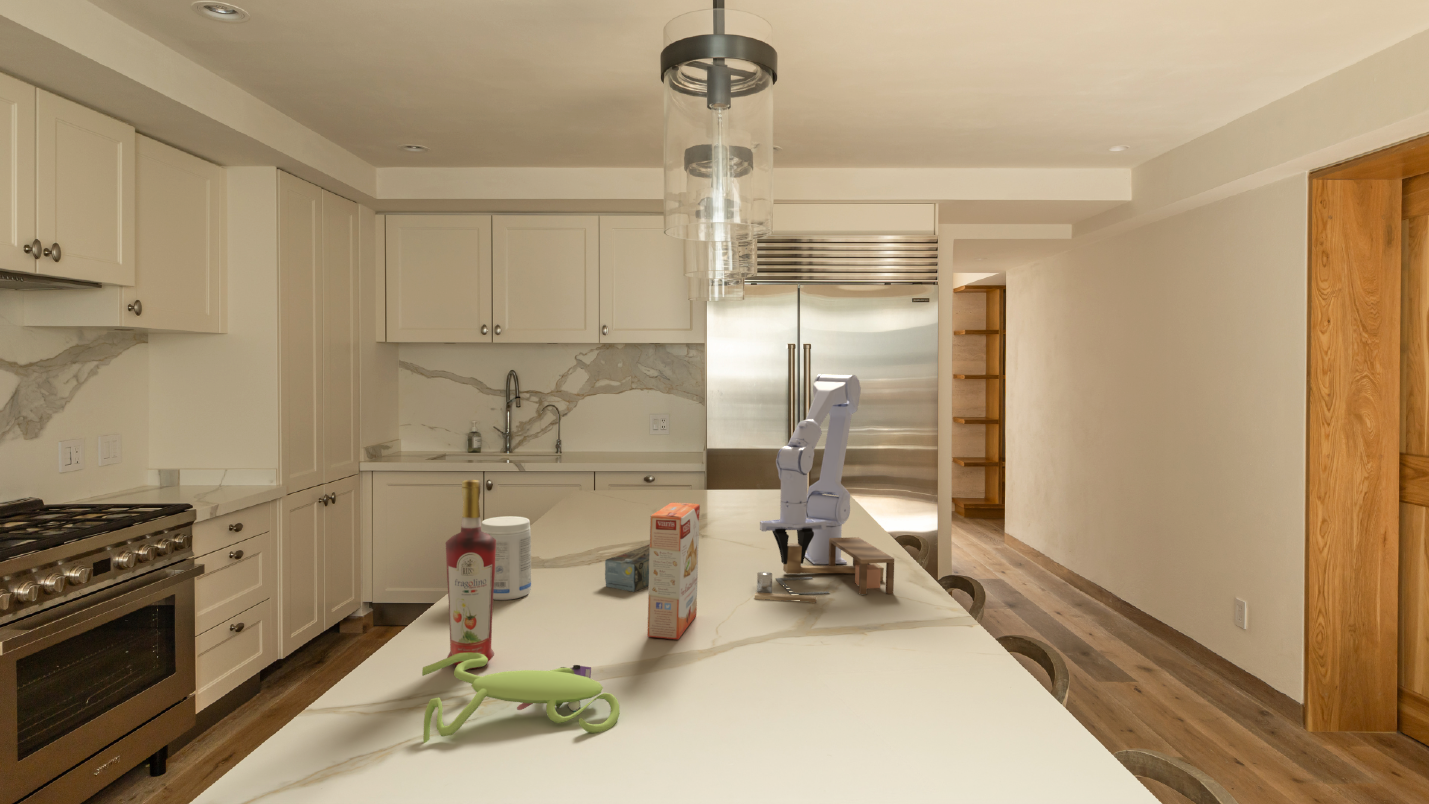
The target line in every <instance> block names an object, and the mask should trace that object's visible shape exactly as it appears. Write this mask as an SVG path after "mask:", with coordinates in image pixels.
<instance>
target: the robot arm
mask: <svg viewBox="0 0 1429 804" xmlns="http://www.w3.org/2000/svg"><path fill="white" fill-rule="evenodd" d="M812 386H813V387H812V391H813V400H812V402H811V405H810V407H809V410H808V413H807V416H806V417H805V419H804V420H800V421H799V422H798V423H797V426H796V427H795V430H794V432H792V436H791V437H790V439H789V441H788V443H787V444H786V445H785V446H783V447H781V448H780V449H779V450H778V451H777V456H776V459H775V466H776V468H777V472H778V478H779V480H780V505H779V506H780V508H779V509H780V510H779V511H780V512H779V513H780V514H779V518H778V519H770V520H760V521H759V530H760V531H761V532H768V531H772V534H773V536H774V539H775V541H776V544H777V546H778V550H779V553H780V554H779V555H780V558H781V559H780V560H781V563H782V564H783V565H784V564H787V546H788V543H789V537H790V536H789V534H788V532H787V531H796V535H797V543H798V544H799V545H801V546H802V553H801V565H802V564H804V561H805V558H806V559H807V560H808V561H809V562H810V563H812V564H813V565H815V566H818V565H828V564H829V538H842V534H843V533H842V531H843V530H842V529H843V528H842V527H843V525H844V524H845V523H846V521H848V519H849V517H850V513H851V502H850V501H851V493H850V492H849V490H848V489H847V488H846V487H845V486H844V485H843V484H842V483H841V482H842V477H843V472H844V466H845V465H844V464H845V458H846V453H847V452H846V451H847V448H848V447H847V446H848V441H849V433H850V428H851V422H852V416H853V414H855V413H857V412H858V408H859V404H860V397H861V389H862V387H861V385H860V380H859V378H858V376H857V375H856V374H850V375H849V374H824V373H819V374H817V376H816V377H815V379H814V381H813V384H812ZM828 415H829V421H828V427H827V433H826V439H825V445H824V452H823V456H822V457H823V458H822V461H821V467H820V468H821V469H820V473H819V475H820V476H819V480H817V481H816V482H814V483H812V484H811V485H809V487H808V474H809V473H810V471H811V470H812V469H813V468H812V467H813V463H814V457H815V449H816V447H817V444H818V443H819V440H820V438H821V436H822V434H823V433H822V429H821V425H823V422H824V421H825V420H826V418H827V416H828ZM837 564H838V565H840V564H841V565H842V564H845V565H846V564H848V561H847V560H846V559H844V558H843V557H842V550H841V549H839V548H838V547H836V560H835V565H837Z"/></svg>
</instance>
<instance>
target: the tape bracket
mask: <svg viewBox="0 0 1429 804" xmlns="http://www.w3.org/2000/svg"><path fill="white" fill-rule="evenodd" d="M797 579H798V580H800V579H801V580H814V579H813V577H812V576H806V577H805V576H803V577H802V576H800V577H797V576H796V577H776V578H775V580H776V581H777V582H778V583H779V584H780V585H781V586H782V585H784V587H783V588H784V589H785V588H791V587H790V586H789V585H788V584H787V583H786V582H785V581H793V580H794V581H796V580H797ZM786 585H788V586H786ZM786 591H787V592H788V591H794V590H793V589H792V588H791V589H787V590H786ZM824 593H825V594H824ZM827 593H830V592H829V591H810V592H809V591H808V592H805V591H804V592H795V591H794V592H790V593H789V594H790V595H791V594H814V595H828V594H827Z"/></svg>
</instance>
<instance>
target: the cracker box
mask: <svg viewBox="0 0 1429 804" xmlns="http://www.w3.org/2000/svg"><path fill="white" fill-rule="evenodd" d="M700 507H701V505H700V504H699V503H690V502H670V503H668V504H667V505H665V506H663V507H662V508H661V509H659V510H658V511H655V512H654V513H652V514H651V515H650V520H649V524H650V525H649V544H650V553H649V586H648V596H647V599H648V600H647V601H648V602H647V604H648V605H647V637H648V638H655V639H656V638H657V639H666V640H667V639H668V640H677V641H678V640H679V639H680V638H681V637H682V635H683V634H684V633H685V631H686V629H687V628H688V627H689V626H690V625H691V623H692V622H693V620H694V619H695V618H696V617H697V612H698V611H697V609H698V607H697V606H698V605H697V604H698V603H697V602H698V601H697V600H698V578H699V577H698V575H699V574H698V573H699V541H700V540H699V539H700V536H699V535H700V511H701V508H700Z"/></svg>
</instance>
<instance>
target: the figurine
mask: <svg viewBox="0 0 1429 804" xmlns="http://www.w3.org/2000/svg"><path fill="white" fill-rule="evenodd" d="M459 661H464V662H462V663H460V664H458V665H457V667H456V666H455V668H454V671H453V675H454V677H455V678H456V679H457V680H460V681H463V682H465V683H468V684H470V686H471V687H472V689H473V690H474V691H475V692H476V694H475V695H474V697H473V698H472V699H471V701H470V702H469V703H468V704H467V705H466V706H465V707H464V708H463V709H462V710H461V712H460V713H459V714H458V715H457V717H456V718H454V720H453V721H452V722H451V723H450V724H448V725H445V724H444V722H443V703H442V699H441V698H440V697H434V698H431V699H429V701H428V703H427V705H426V708H425V712H424V719H423V738H422V739H423V743H424V744H426V743H427V742H428V741H429V740H430V736H431V735H430V734H431V733H430V732H431V722H432V717H433V713H434V712H435V709H436V708H437V714H436V715H437V716H436V730H437V731H438V734H439V735H440V737H447V736H448V737H449V736H452V735H453V734H455V732H457V731H458V730H460V729H461V727H462V726H463V725H464V724H465V723H466V722H467V720H468V719H469V718H470V717H471V715H473V714H474V712H475V711H476V710H477V709H478V708H479V706H480V705H481V704H482V703H483V700H484V699H485V698H491V699H496V700H500V701H504V702H513V703H519V704H518V705H517V706H516V710H518V711H522V710H524V709H526V708H527V707H528V708H529V706H531V705H533V704H541V705H542V704H546V707H545V711H546V712H545V713H546V715H547V717H548V719H549V720H550V721H552V722H553V723H555V724H562V723H566V722H568V721H570V720H572V719H574V718H575V717H577V716H578V715H579V714H581V713H582V712H583V711H584V710H586V709H587V708H588V707H589V706H590V704H592V703H593V702H594V701H596V700H605V702H607V703H608V706H609V707H610V713H609V715H608V717H607V719H606V720H605V721H603V722H602V723H599V724H598V723H596V724H594V723H593V724H592V723H589V722H586V720H584V719H583V718H582V717H580V718H578V724H579V726H580V728H581V729H583V730H584V731H585V732H587V733H592V734H598V733H601V732H604V731H607V730H609V729H612V727H614V726H615V724H616V723H617V721H619V717H620V713H621V711H620V703H619V701H618V699H617V698H616V696H615V695H613V693H610V692H609V693H608V692H603V693H602V691H603V689H604V687H603V685H602V684H601V683H600V681H598V680H595V679H593V678H591V675H592V674H591V673H592V667H590V666H585V665H580V664H574V665H572V667H567V666H561V667H558V668H555V669H550V670H535V669H533V670H532V669H530V670H529V669H525V670H523V669H522V670H509V671H508V670H507V671H501V672H495V673H489V674H485V675H483V676H481V675H478V674H477V675H476V674H473V673H470V672H467V671H468V670H467V669H469V668H475V667H481V666H483V667H485V666H486V665H487V664H488V663H489V662H488V658H487V657H486V656H485V655H483V654H480V653H470V652H468V653H458V654H455V655H452V656H451V657H449V658H447V657H446V658H444V659H441V660H438V661H437V662H434V663H430V664H429V665H426V666H423V667H422V673H421V675H422V677H424V676H426V675H430V674H431V673H435V672H438V671H439V670H441V669H443V668H447V667H449V666H450V665H453V663H456V662H459ZM487 662H488V663H487ZM481 668H482V667H481ZM466 670H467V671H466ZM591 698H593V699H592V700H590V701H589V702H588V703H586V704H585V705H584V706H583V707H581V701H583V700H589V699H591ZM565 703H568V709H569V710H570V711H572V712H573V713H572V714H569V715H565V716H562V715H561V714H559V713H558V712H557V710H556V708H557V709H559V708H561V706H562V705H563V704H565ZM580 707H581V708H580Z"/></svg>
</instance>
